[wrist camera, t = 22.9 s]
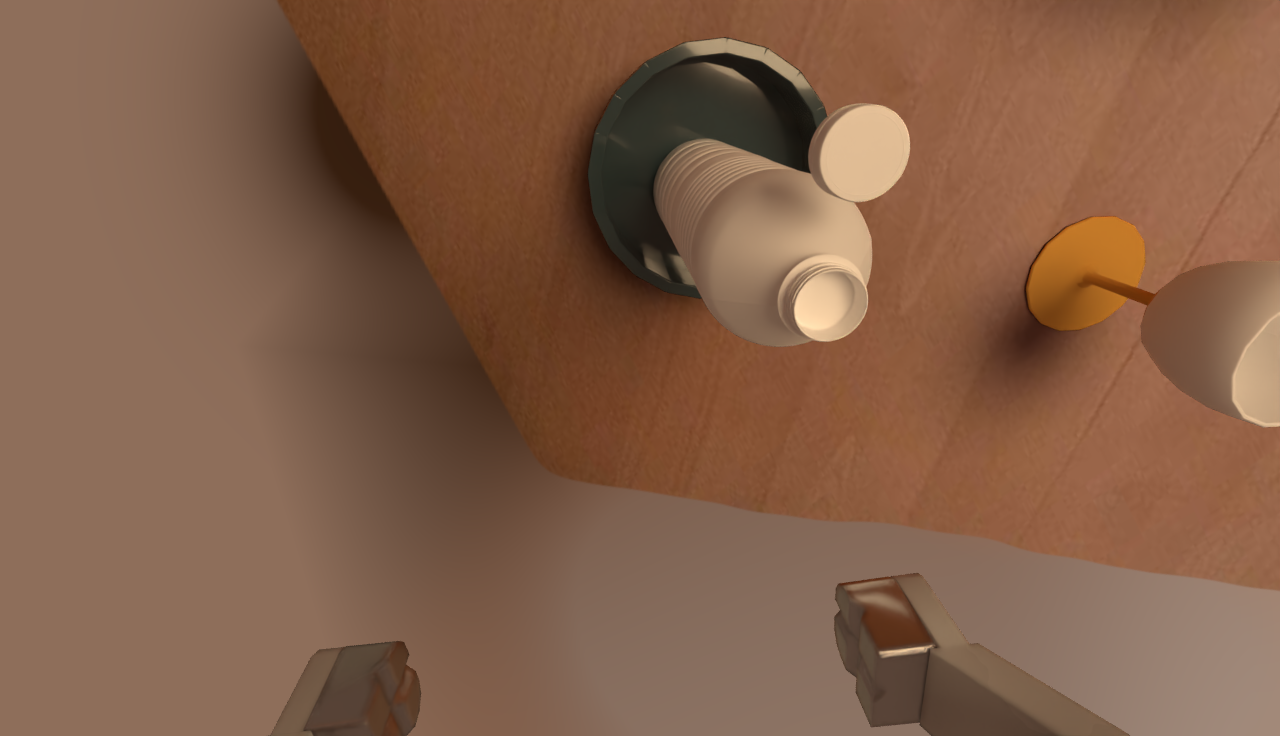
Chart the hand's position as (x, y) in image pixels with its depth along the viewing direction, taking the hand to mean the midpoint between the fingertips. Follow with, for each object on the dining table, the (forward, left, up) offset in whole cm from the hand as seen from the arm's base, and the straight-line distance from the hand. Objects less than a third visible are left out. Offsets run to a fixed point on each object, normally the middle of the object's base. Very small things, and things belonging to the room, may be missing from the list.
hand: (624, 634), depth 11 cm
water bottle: (+7, +4, -33) cm, 34 cm away
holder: (+7, +4, -34) cm, 35 cm away
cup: (+36, -7, -34) cm, 50 cm away
